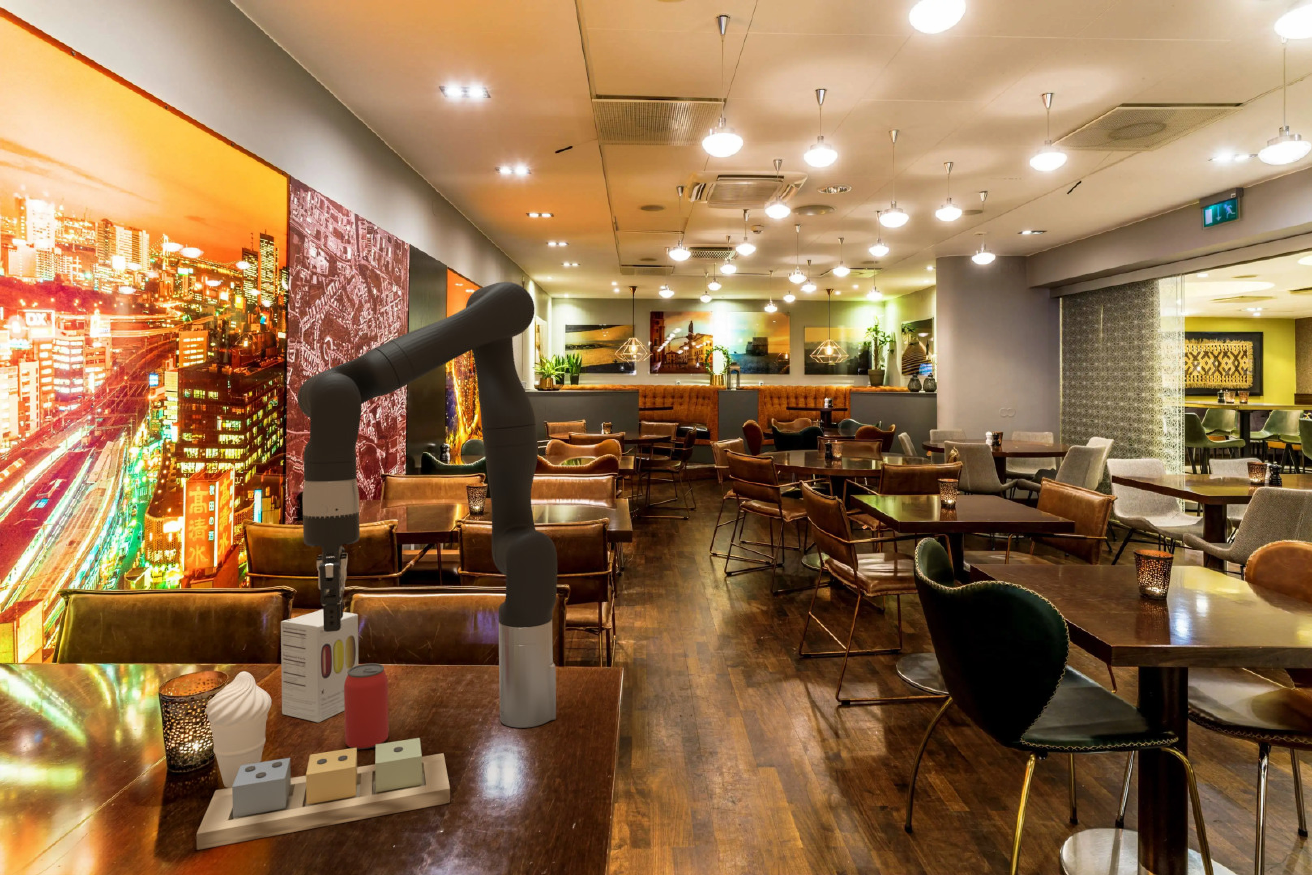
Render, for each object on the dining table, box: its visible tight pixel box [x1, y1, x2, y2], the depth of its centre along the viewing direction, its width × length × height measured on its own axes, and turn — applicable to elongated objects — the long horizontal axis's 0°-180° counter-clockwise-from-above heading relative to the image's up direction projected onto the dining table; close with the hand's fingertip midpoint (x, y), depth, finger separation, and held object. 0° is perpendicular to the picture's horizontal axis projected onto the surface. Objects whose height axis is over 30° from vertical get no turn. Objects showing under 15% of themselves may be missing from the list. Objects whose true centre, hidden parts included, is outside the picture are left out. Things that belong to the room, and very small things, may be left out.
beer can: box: [344, 662, 390, 750], centre depth 118 cm, size 7×7×12 cm
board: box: [196, 752, 451, 850], centre depth 100 cm, size 30×11×2 cm, turn 111°
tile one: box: [374, 737, 423, 792], centre depth 102 cm, size 6×6×4 cm
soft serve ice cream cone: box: [204, 671, 272, 789], centre depth 105 cm, size 8×8×16 cm
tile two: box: [305, 747, 358, 804], centre depth 99 cm, size 6×6×4 cm
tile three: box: [232, 757, 292, 818], centre depth 96 cm, size 6×6×4 cm
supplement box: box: [280, 608, 359, 723], centre depth 131 cm, size 10×9×17 cm
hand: (333, 624), depth 107 cm, fingers open, 5 cm apart
